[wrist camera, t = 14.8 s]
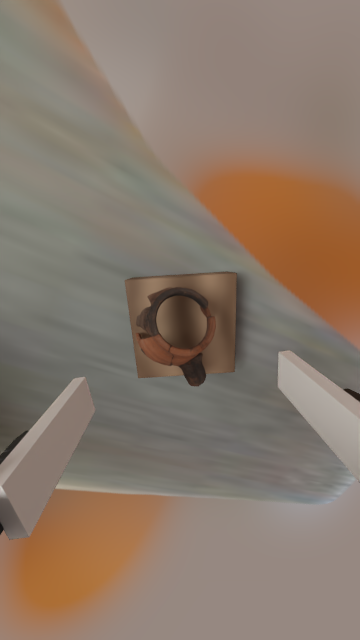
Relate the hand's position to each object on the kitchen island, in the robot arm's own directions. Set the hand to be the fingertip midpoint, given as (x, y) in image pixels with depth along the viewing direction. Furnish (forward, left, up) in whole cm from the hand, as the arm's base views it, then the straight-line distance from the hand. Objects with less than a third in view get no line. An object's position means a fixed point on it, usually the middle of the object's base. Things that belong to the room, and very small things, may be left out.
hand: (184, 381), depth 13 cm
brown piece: (-2, -3, -14) cm, 14 cm away
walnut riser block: (0, -1, -18) cm, 18 cm away
